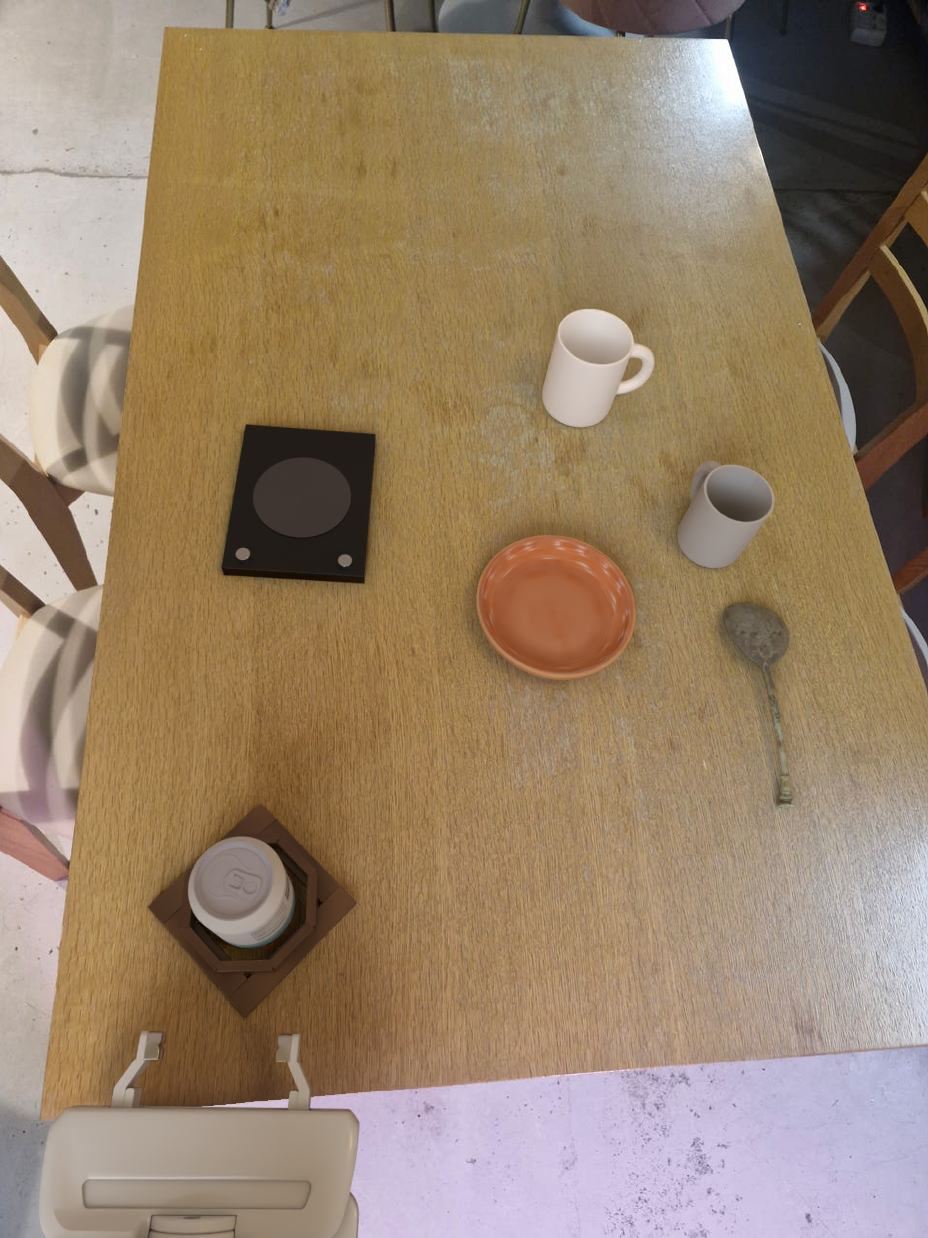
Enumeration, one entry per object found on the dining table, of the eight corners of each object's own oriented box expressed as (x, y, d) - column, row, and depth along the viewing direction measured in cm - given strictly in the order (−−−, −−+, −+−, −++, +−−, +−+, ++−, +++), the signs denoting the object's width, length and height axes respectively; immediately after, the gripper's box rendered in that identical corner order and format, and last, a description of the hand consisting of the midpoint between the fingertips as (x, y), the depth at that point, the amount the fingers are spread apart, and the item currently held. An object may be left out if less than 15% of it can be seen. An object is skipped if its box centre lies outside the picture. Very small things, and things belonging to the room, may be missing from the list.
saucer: (444, 586, 87) (446, 571, 84) (572, 526, 91) (578, 510, 89) (528, 716, 81) (533, 705, 78) (659, 645, 86) (668, 632, 83)
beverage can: (236, 851, 73) (213, 816, 62) (310, 882, 72) (299, 852, 62) (196, 930, 70) (164, 908, 59) (273, 963, 69) (255, 947, 58)
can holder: (246, 1018, 67) (241, 1016, 64) (149, 908, 70) (140, 902, 67) (356, 903, 72) (356, 897, 69) (261, 805, 75) (257, 796, 72)
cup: (690, 576, 90) (721, 530, 82) (655, 500, 94) (681, 449, 86) (751, 563, 91) (786, 516, 84) (713, 488, 96) (744, 437, 88)
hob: (364, 583, 86) (364, 573, 84) (223, 575, 85) (220, 564, 83) (375, 442, 94) (375, 429, 92) (247, 432, 93) (244, 420, 91)
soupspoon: (775, 607, 90) (714, 606, 90) (787, 591, 87) (724, 589, 87) (816, 811, 79) (747, 810, 79) (832, 801, 76) (760, 799, 76)
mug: (633, 374, 102) (658, 308, 93) (646, 428, 99) (675, 365, 90) (535, 375, 101) (552, 308, 92) (546, 430, 97) (564, 366, 88)
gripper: (354, 1286, 52) (370, 1034, 58) (7, 1288, 50) (61, 1028, 57) (356, 1264, 57) (369, 1036, 64) (43, 1264, 56) (89, 1030, 62)
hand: (222, 1032), depth 60 cm, fingers open, 8 cm apart
